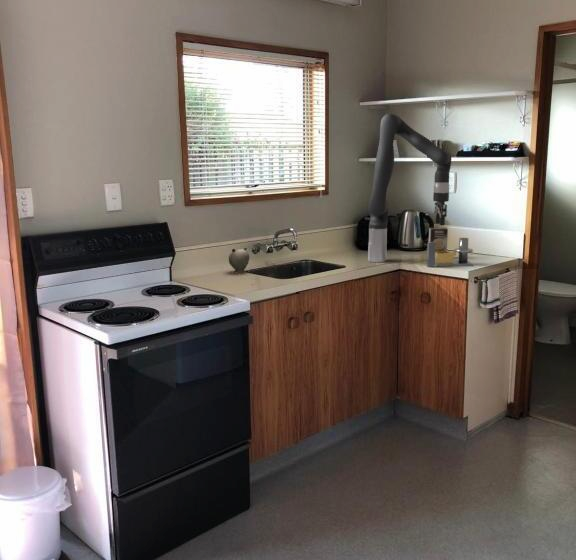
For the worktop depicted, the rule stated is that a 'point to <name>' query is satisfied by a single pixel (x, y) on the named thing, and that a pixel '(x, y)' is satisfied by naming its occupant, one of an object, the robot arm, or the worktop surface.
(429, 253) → the grey square beam
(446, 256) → the rosette stand
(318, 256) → the worktop surface
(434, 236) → the coffee box
